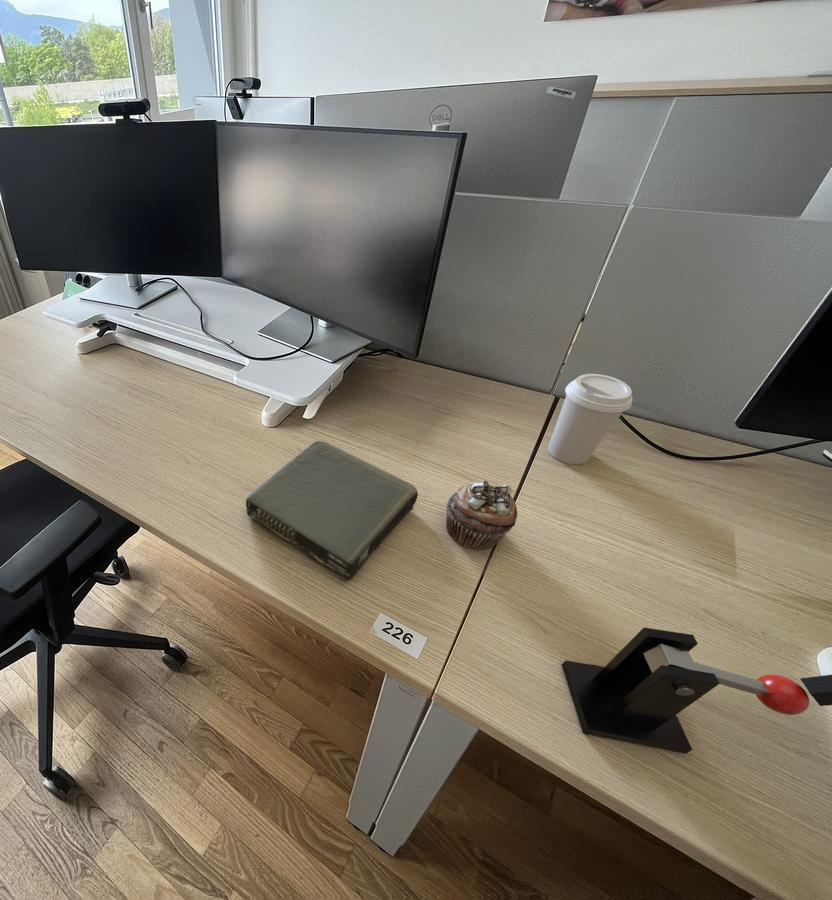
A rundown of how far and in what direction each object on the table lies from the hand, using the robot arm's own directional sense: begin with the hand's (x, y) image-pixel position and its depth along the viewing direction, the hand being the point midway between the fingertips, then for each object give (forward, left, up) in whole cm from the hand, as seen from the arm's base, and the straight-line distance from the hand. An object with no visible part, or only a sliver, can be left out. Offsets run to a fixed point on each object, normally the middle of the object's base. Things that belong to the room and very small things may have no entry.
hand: (810, 692), depth 45 cm
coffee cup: (+47, -7, -10) cm, 48 cm away
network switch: (+36, +40, -10) cm, 55 cm away
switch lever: (+2, +7, -2) cm, 7 cm away
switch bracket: (+3, +12, -10) cm, 16 cm away
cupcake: (+30, +18, -10) cm, 36 cm away
